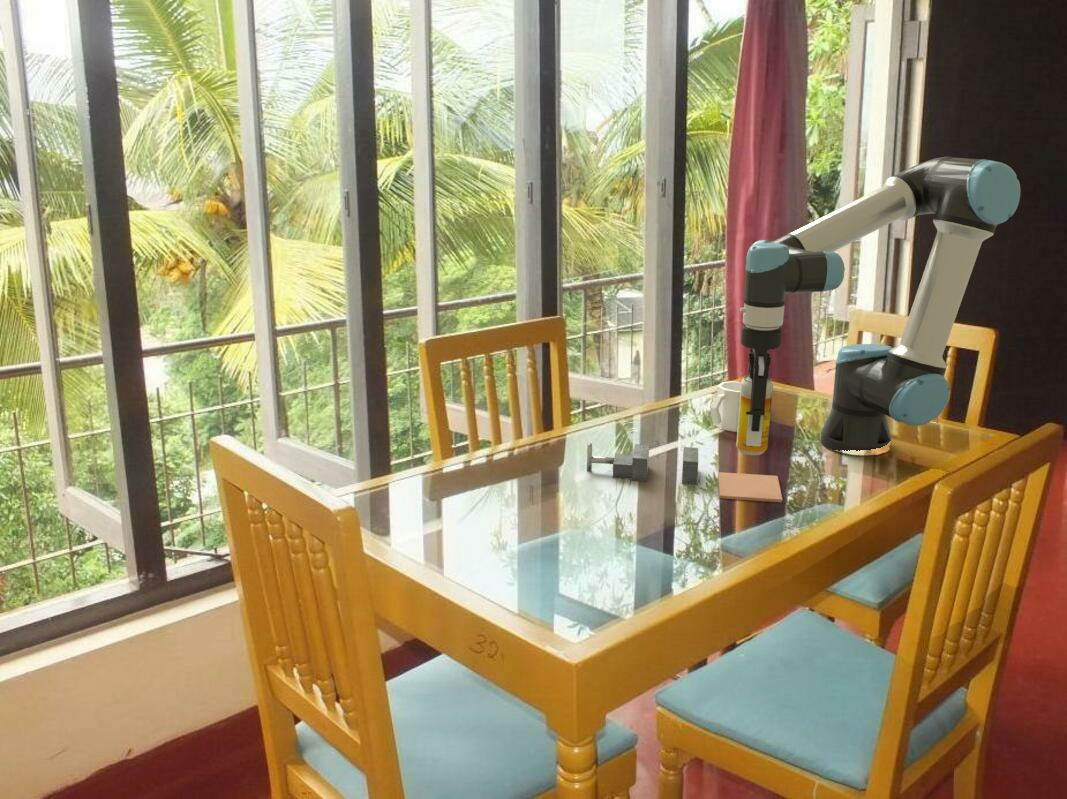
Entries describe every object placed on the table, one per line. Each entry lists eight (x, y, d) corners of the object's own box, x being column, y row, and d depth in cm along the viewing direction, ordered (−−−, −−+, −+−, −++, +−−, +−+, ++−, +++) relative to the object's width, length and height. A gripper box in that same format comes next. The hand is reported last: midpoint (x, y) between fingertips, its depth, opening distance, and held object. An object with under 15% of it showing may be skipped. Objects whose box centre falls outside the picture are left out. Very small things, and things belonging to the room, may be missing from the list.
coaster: (777, 478, 195) (777, 475, 195) (782, 502, 184) (782, 499, 184) (718, 474, 197) (718, 472, 197) (719, 498, 186) (719, 495, 186)
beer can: (767, 457, 184) (774, 383, 180) (735, 454, 186) (741, 381, 181) (766, 446, 190) (772, 375, 185) (735, 444, 191) (741, 373, 187)
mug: (729, 417, 231) (732, 379, 228) (758, 426, 225) (761, 387, 222) (697, 428, 224) (699, 388, 221) (726, 438, 218) (729, 397, 215)
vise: (696, 469, 199) (698, 443, 198) (696, 484, 192) (698, 457, 190) (588, 463, 203) (589, 437, 201) (584, 477, 195) (585, 450, 194)
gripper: (739, 313, 189) (731, 422, 197) (744, 336, 172) (735, 455, 179) (778, 315, 188) (768, 424, 195) (786, 338, 170) (775, 458, 178)
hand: (752, 439), depth 187 cm, fingers closed on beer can, 6 cm apart
